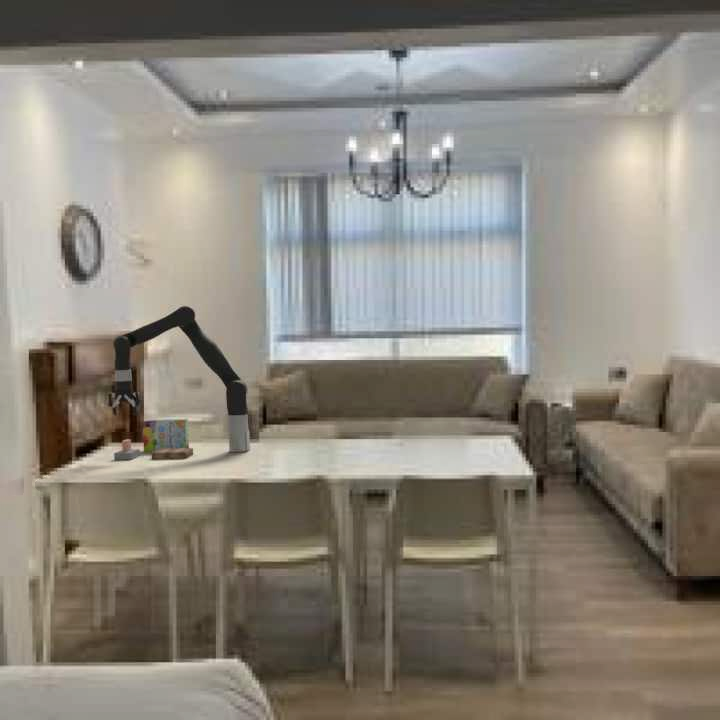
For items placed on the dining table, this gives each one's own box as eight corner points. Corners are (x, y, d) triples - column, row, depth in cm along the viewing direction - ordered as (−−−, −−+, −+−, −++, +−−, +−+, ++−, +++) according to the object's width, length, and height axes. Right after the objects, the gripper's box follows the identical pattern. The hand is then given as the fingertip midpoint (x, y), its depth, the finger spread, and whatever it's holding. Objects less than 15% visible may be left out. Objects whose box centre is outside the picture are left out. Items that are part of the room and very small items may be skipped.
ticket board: (193, 454, 426) (192, 447, 426) (186, 458, 414) (186, 451, 414) (159, 455, 427) (158, 448, 427) (151, 459, 415) (151, 452, 415)
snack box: (189, 449, 445) (188, 418, 444) (186, 450, 439) (185, 419, 438) (147, 449, 447) (145, 419, 446) (143, 451, 441) (141, 420, 440)
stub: (139, 455, 427) (138, 438, 427) (131, 459, 415) (130, 441, 415) (122, 455, 428) (122, 438, 428) (114, 459, 416) (113, 442, 416)
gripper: (141, 378, 423) (142, 413, 424) (110, 379, 424) (112, 414, 425) (136, 380, 416) (137, 415, 417) (105, 381, 417) (107, 416, 417)
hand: (125, 415), depth 421 cm, fingers open, 8 cm apart
